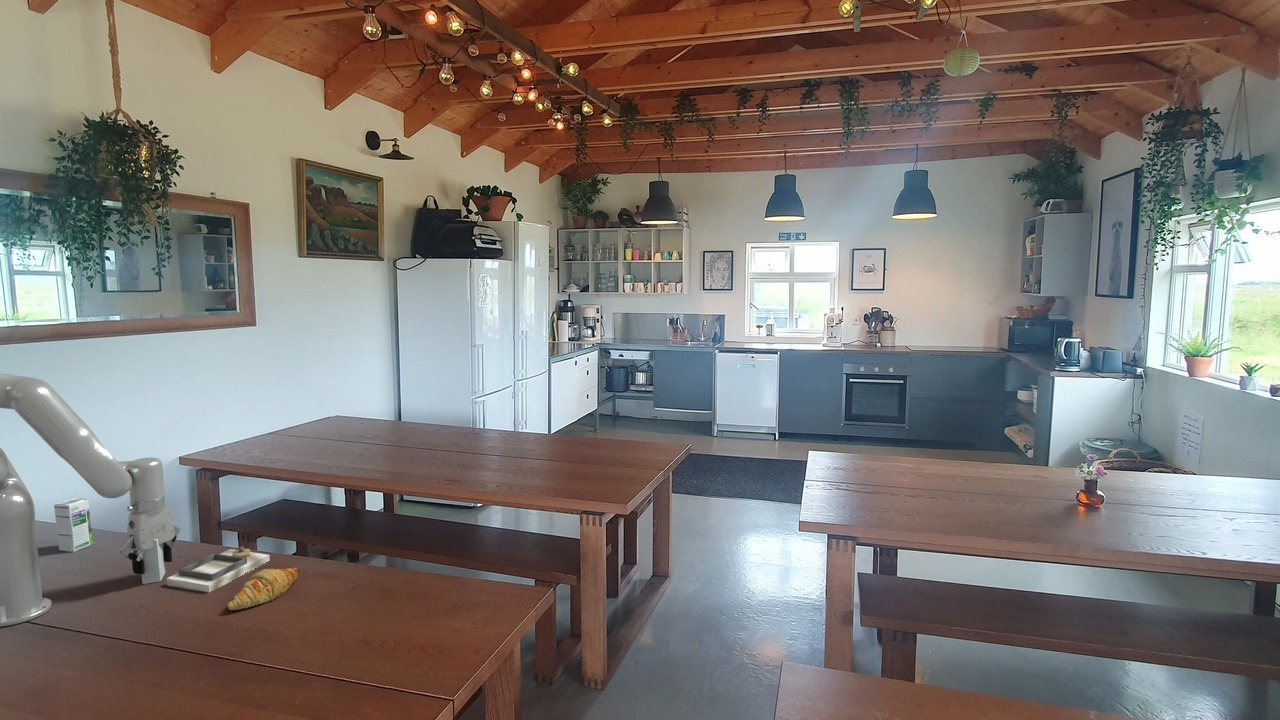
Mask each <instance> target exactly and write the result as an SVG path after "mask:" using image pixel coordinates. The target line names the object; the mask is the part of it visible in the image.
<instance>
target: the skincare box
mask: <svg viewBox="0 0 1280 720" xmlns="http://www.w3.org/2000/svg"><path fill="white" fill-rule="evenodd" d="M153 545H154V547H153V548H151V549H148V550H145V551H144V553H143V556H142V558H141V559H142V560H144V568H145V573H144V574H142V575H141V581H142V582H141V583H142V584H141V585H148V584H154V583H160V582H161V581H162V579H163V577H164V576H165V575H166V574H165V573H166V565H165V563H166V562H164V550H163V544H161V545H158V539H155V540H153Z"/></svg>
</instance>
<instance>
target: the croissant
mask: <svg viewBox="0 0 1280 720" xmlns="http://www.w3.org/2000/svg"><path fill="white" fill-rule="evenodd" d="M300 569H301V568H300V567H292V568H289V567H288V568H274V567H273V568H271V567H270V568H264V569H262V570H259V571H256V572H255V573H254V574H252V575H251V576H250V577H249V579H248V581H246V582H245V583H244V584H243V586H242V588H241V590H240V591H238V592H237V593H235V595H234V597H233V599H232V600H230V601H229V602H228V603H227V608H228V610H230V611H237V610H244V609H249V608H251V607H255V605H256V606H259V605H258V604H260V605H262V603H263V604H266V603H269V602H271V601H272V602H273V601H274V600H275V599H276V598H278V597H277V596H279V597H280V596H281V595H283V594H284V593H285V592H287V590H288V589H289V588H290V587H291V585H293V583H295V582H296V580H297V579H298V577H299V574H300ZM270 600H271V601H270ZM268 601H269V602H268ZM265 602H266V603H265ZM248 607H249V608H248ZM243 608H244V609H243Z"/></svg>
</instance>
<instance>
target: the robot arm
mask: <svg viewBox="0 0 1280 720" xmlns="http://www.w3.org/2000/svg"><path fill="white" fill-rule="evenodd" d="M0 409H8V410H14V411H15V412H16V414H18V415H19V417H20V418H21V419H22V420H23V421H25V423H26V424H27V425H29V427H31V428H32V429H33V430H34V432H35V433H36V434H37V435H38V436H39V437H40V438H41V439H42V440H43V441H44V443H46V444H47V445H48V446H49V447H50V448H51V449H52V450H53V452H55V453H56V454H57V455H58V456H59V457H60V458H61V459H63V460H64V461H65V462H66V463H67V464H68V465H70V466H71V468H72V469H73V470H74V471H75V472H77V474H79V476H80V477H81V478H82V479H83V480H84V481H85V482H86V483H87V484H88V485H89V486H90V487H91V488H92V489H93V490H94V491H95V492H96V494H98V495H100V496H101V497H103V498H105V499H118V498H121V497H122V496H124V495H126V494H127V493H128V492H129V506H126V507H127V508H126V509H127V511H128V512H129V514H128V519H127V526H126V528H127V529H126V530H127V532H126V533H127V534H126V537H127V538H126V539H127V540H126V541H125V543H124V544H123V545H122V547H121V548H120V549H119V554H121V555H122V556H124V557H125V558H127V559H129V560H130V561H131V563H132V564H131V565H132V573H133V574H136V575H141V576H142V574H144V573H145V568H144V560H142V559H141V558H142V556H143V553H144V551H145V550H148V549H151V548H153V547H154V545H153V540H155V539H158V545H161V544H163V550H164V562H165V563H172V562H173V551H172V548H173V547H174V545H175V542H176V540H177V539H178V538H177V536H178V535H179V533H180V531H181V528H180V527H177V526H175V524H174V518H173V514H172V511H171V508H170V506H169V504H166V497H165V495H166V494H165V492H166V491H165V482H164V467H163V462H162V460H161V459H160V458H158V457H142V458H137V459H134V460H126V461H125V460H124V461H122V460H121V461H118V460H117V459H116V458H115V457H114V456H113V455H112V454H111V452H110V451H108V449H107V448H106V447H105V446H104V445H103V444H102V442H101V441H100V440H99V439H98V437H97V436H96V434H95V433H94V431H93V430H92V429H91V428H90V426H89V425H88V424H87V423H86V422H85V421H84V420H83V419H82V418H81V417H80V416H79V415H78V414H77V412H76V411H75V410H74V409H73V408H72V407H71V406H70V405H69V403H67V401H65V399H63V398H62V397H61V395H60V394H59V393H58V392H57V390H55V388H53V387H52V386H51V385H50V383H48V382H47V381H45V380H42V379H40V378H36V377H30V376H22V375H15V374H9V373H2V372H0ZM34 503H35V502H34V500H33V497H32V495H31V494H30V491H29V490H28V488H27V485H25V483H24V482H23V480H22V478H21V476H20V475H19V473H18V472H17V471H16V469H15V467H14V465H13V463H12V462H11V460H10V459H9V457H8V456H7V454H6V453H5V451H4V450H3V449H2V448H1V447H0V627H7V626H12V625H18V624H21V623H24V622H28V621H30V620H33V619H35V618H38V617H41V616H42V615H44V614H45V613H47V612H49V610H51V608H52V606H53V603H52V599H50V598H48V597H43V592H42V591H43V590H42V589H43V588H42V581H41V571H40V561H39V551H38V543H37V531H36V511H35V509H36V508H35V504H34Z"/></svg>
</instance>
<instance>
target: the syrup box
mask: <svg viewBox="0 0 1280 720" xmlns="http://www.w3.org/2000/svg"><path fill="white" fill-rule="evenodd" d="M53 508H54V509H53V510H54V518H55V524H56V526H55V527H56V535H57V542H58V550H59V551H64V552H70V553H75V552H77V551H79V550H83V549H85V548H88V547H90V546H93V545H94V541H93V534H92V533H93V531H92V523H91V514H90V513H91V512H90V505H89V499H87V498H81V497H73V498H70V499H68V500H64V501H62V502H58V503H55V504H54V505H53Z"/></svg>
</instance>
